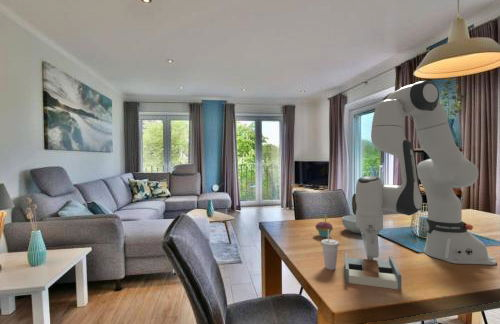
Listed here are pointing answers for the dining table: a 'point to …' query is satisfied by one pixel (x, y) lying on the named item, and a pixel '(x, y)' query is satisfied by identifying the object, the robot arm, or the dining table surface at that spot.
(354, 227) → the cereal bowl
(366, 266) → the terracotta block
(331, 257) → the smoothie
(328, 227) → the cupcake
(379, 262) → the board
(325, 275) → the dining table surface
